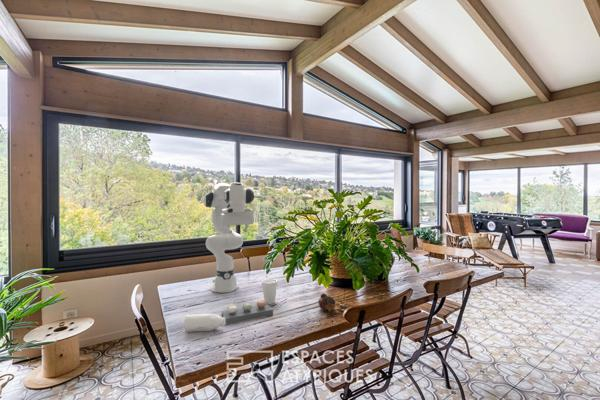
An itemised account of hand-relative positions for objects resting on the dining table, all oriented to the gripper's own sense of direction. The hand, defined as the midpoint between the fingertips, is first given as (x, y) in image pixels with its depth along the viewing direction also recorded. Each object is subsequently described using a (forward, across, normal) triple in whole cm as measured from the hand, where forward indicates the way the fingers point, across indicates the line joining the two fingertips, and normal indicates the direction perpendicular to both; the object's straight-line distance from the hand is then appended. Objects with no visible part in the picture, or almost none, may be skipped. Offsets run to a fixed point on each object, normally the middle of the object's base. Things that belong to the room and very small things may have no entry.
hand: (237, 232), depth 170 cm
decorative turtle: (+45, -38, +36) cm, 69 cm away
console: (+44, +2, +16) cm, 47 cm away
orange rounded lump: (+43, -6, +17) cm, 46 cm away
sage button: (+43, +2, +16) cm, 45 cm away
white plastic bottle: (+45, +26, +17) cm, 54 cm away
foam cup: (+44, -18, +5) cm, 48 cm away
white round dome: (+43, +10, +14) cm, 46 cm away
